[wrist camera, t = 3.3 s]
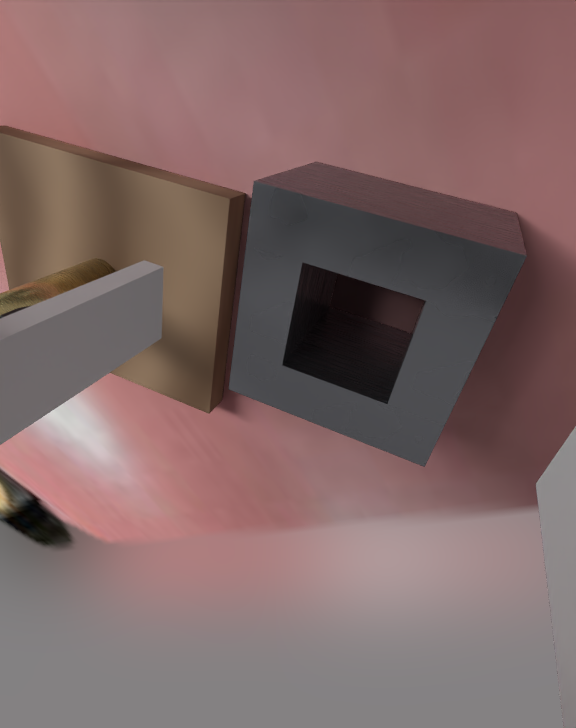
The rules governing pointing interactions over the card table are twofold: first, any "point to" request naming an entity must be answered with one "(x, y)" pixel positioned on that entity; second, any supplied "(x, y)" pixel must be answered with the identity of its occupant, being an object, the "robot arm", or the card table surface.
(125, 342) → the robot arm
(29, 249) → the board
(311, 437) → the card table surface
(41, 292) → the keeper pin
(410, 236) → the grey hollow square block
